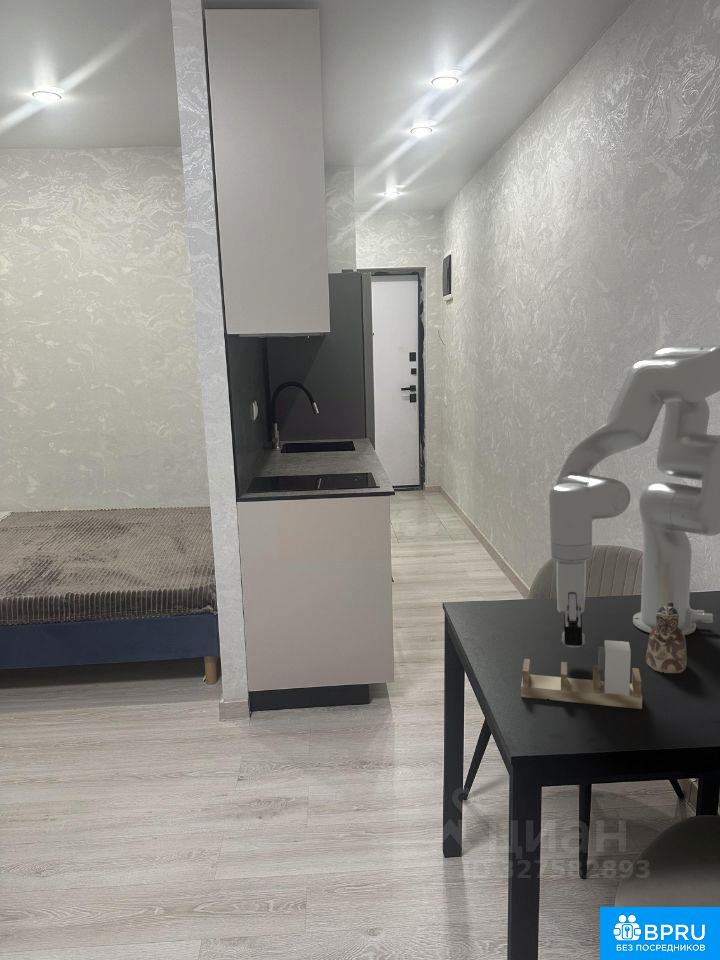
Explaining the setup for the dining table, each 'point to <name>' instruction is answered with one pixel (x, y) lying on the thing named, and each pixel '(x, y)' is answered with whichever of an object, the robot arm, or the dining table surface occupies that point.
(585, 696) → the wooden slotted rack
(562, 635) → the rook chess piece
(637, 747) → the dining table surface
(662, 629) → the figurine
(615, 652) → the white and grey block
